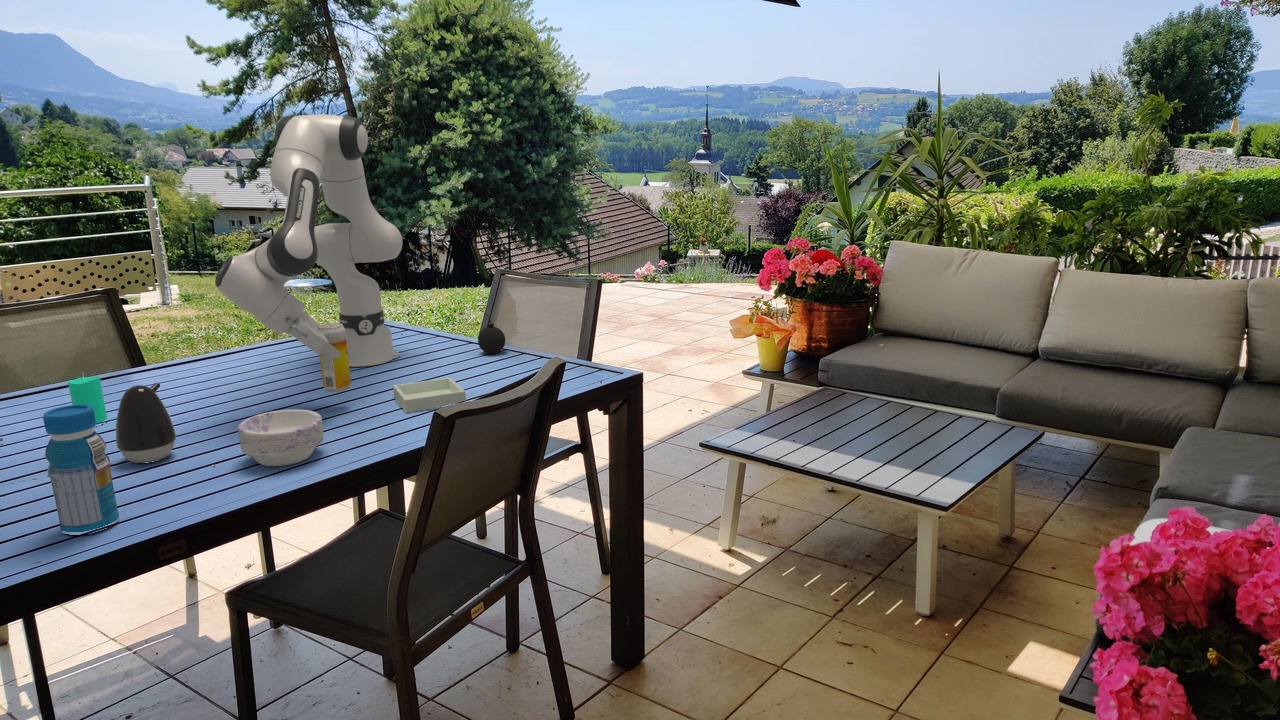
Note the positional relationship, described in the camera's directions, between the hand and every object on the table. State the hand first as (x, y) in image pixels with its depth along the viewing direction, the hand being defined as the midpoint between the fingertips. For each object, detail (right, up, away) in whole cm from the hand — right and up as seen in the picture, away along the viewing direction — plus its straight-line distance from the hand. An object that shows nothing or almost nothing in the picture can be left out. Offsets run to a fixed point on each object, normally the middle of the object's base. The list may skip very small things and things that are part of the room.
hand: (336, 351), depth 196 cm
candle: (-53, -17, -4) cm, 56 cm away
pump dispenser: (-28, -22, -26) cm, 44 cm away
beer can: (0, -9, +2) cm, 9 cm away
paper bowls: (0, -21, -27) cm, 35 cm away
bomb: (+27, 0, +52) cm, 59 cm away
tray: (+20, -12, +8) cm, 24 cm away
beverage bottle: (-20, -29, -56) cm, 67 cm away
